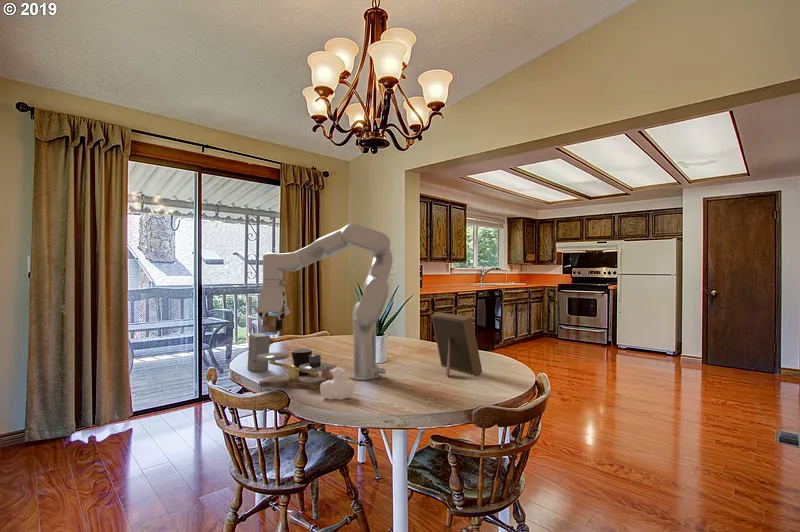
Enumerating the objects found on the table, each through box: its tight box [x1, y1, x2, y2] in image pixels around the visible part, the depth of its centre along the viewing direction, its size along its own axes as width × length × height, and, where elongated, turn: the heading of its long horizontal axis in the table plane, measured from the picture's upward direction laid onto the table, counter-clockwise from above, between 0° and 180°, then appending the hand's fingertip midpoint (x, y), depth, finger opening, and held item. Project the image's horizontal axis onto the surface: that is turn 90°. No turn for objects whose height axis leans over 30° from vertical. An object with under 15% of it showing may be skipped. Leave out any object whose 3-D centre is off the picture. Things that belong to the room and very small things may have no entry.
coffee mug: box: [291, 347, 313, 377], centre depth 175 cm, size 12×9×10 cm
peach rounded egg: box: [320, 362, 337, 381], centre depth 164 cm, size 6×6×6 cm
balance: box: [257, 351, 331, 381], centre depth 158 cm, size 30×12×10 cm, turn 77°
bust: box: [319, 366, 355, 401], centre depth 142 cm, size 12×8×11 cm
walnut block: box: [262, 314, 282, 333], centre depth 160 cm, size 5×5×6 cm
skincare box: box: [247, 332, 271, 373], centre depth 180 cm, size 8×7×16 cm
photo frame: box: [430, 311, 483, 378], centre depth 175 cm, size 15×22×25 cm
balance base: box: [258, 374, 327, 390], centre depth 158 cm, size 24×10×2 cm, turn 77°
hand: (272, 329), depth 160 cm, fingers closed on walnut block, 5 cm apart
